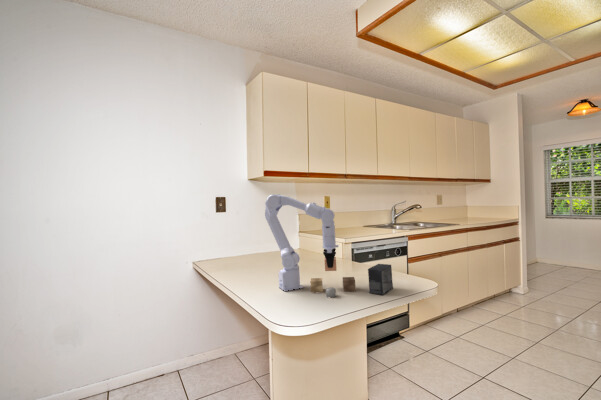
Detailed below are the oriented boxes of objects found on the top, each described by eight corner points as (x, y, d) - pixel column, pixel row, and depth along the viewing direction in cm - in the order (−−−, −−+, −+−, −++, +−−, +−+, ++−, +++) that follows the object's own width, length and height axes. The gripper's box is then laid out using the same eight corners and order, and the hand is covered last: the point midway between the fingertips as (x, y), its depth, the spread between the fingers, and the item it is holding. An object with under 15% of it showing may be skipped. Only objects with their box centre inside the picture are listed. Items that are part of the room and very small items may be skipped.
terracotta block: (325, 271, 131) (324, 259, 131) (325, 268, 136) (324, 257, 136) (336, 270, 130) (335, 259, 130) (336, 268, 135) (335, 257, 135)
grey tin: (329, 298, 119) (328, 291, 119) (324, 295, 123) (324, 288, 123) (337, 296, 121) (337, 289, 121) (332, 294, 125) (332, 286, 125)
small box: (379, 286, 131) (378, 263, 131) (393, 288, 127) (392, 264, 127) (368, 293, 123) (367, 268, 123) (383, 295, 119) (381, 269, 119)
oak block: (311, 292, 128) (310, 281, 128) (311, 289, 133) (310, 278, 133) (322, 292, 127) (321, 281, 127) (322, 289, 132) (322, 277, 132)
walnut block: (343, 292, 126) (343, 280, 126) (343, 288, 131) (342, 277, 131) (355, 291, 126) (355, 280, 126) (354, 288, 131) (354, 276, 131)
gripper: (338, 237, 125) (339, 269, 125) (337, 233, 140) (338, 262, 140) (321, 238, 126) (323, 270, 126) (322, 234, 140) (323, 262, 141)
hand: (330, 266), depth 133 cm, fingers closed on terracotta block, 5 cm apart
